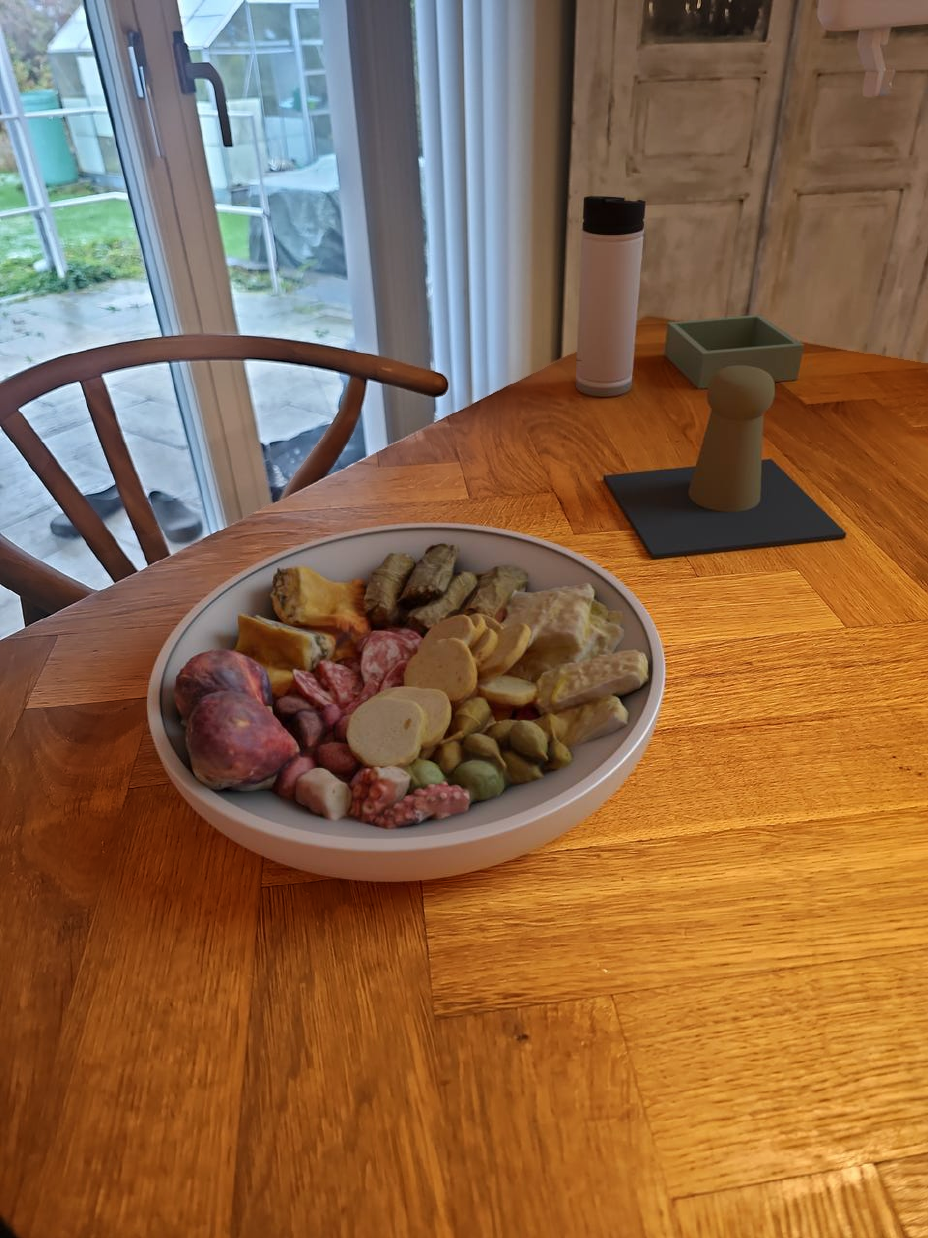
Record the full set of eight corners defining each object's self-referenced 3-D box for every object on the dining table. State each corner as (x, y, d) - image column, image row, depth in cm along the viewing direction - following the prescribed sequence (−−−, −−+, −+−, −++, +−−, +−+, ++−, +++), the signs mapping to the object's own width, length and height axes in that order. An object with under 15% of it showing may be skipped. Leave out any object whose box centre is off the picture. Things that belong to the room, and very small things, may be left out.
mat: (770, 463, 79) (771, 458, 79) (845, 538, 68) (847, 533, 67) (603, 480, 78) (603, 474, 77) (651, 559, 66) (652, 554, 66)
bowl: (428, 537, 70) (421, 449, 66) (754, 701, 53) (776, 596, 48) (81, 716, 54) (40, 616, 49) (385, 1044, 36) (365, 935, 31)
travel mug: (562, 389, 96) (567, 194, 84) (599, 373, 99) (610, 184, 88) (605, 403, 92) (617, 201, 80) (642, 386, 96) (659, 190, 84)
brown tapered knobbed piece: (674, 497, 73) (690, 373, 67) (710, 472, 77) (728, 352, 70) (738, 519, 70) (761, 390, 63) (773, 492, 73) (797, 367, 67)
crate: (754, 347, 105) (760, 314, 102) (797, 380, 96) (804, 344, 93) (664, 355, 104) (667, 321, 101) (698, 389, 94) (702, 353, 92)
